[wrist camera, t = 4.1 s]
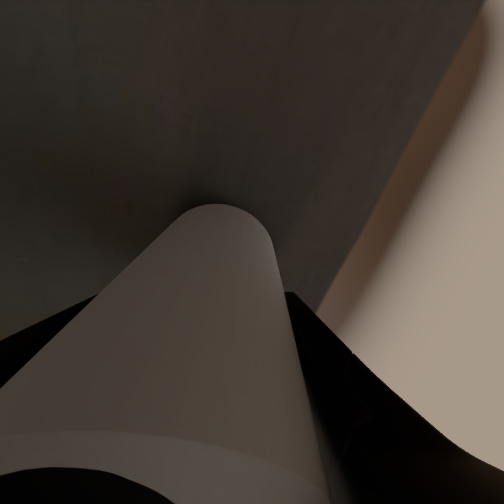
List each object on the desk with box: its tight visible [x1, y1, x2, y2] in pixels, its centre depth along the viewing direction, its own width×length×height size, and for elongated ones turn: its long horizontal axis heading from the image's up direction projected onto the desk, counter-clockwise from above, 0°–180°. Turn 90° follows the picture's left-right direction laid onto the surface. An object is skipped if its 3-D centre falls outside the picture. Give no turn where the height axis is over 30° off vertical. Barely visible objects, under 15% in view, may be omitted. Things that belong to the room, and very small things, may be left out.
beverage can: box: [0, 204, 333, 504], centre depth 8 cm, size 6×6×12 cm
